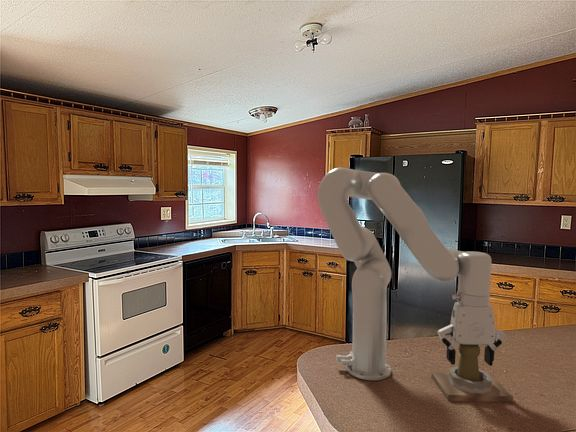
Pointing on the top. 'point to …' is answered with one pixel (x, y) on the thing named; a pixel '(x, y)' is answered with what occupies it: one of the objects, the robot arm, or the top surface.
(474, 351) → the olive green peg
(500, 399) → the socket board
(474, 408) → the top surface
